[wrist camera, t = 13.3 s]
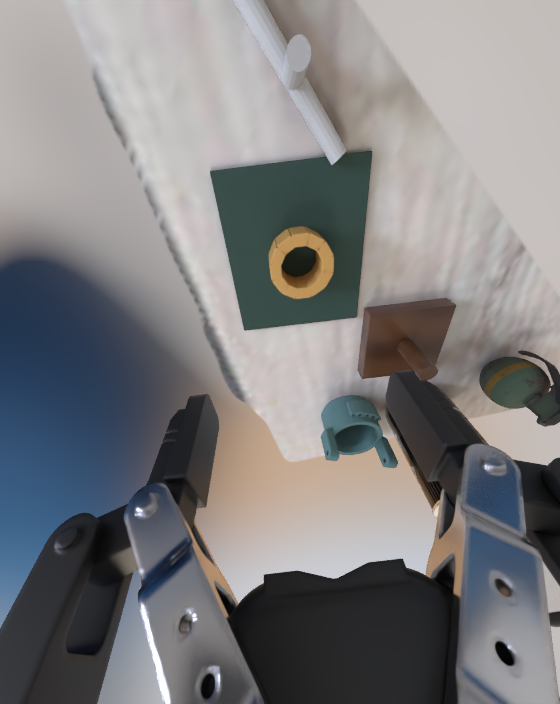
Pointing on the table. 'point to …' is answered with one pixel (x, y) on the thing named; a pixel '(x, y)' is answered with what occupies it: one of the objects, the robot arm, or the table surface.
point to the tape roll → (314, 278)
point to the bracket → (354, 430)
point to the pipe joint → (292, 72)
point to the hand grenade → (523, 386)
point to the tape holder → (404, 337)
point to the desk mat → (286, 212)
